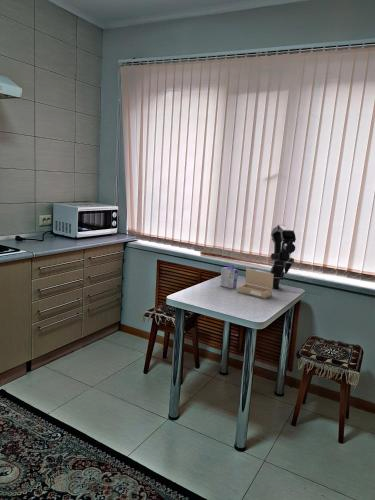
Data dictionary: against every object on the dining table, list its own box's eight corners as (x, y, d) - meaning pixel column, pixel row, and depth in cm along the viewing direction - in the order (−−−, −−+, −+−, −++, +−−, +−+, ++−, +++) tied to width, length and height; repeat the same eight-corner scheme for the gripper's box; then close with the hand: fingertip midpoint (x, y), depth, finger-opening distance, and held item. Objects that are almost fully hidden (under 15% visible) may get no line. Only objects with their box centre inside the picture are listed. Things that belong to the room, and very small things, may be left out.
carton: (245, 289, 248) (245, 283, 248) (271, 295, 238) (272, 289, 237) (237, 292, 240) (238, 286, 239) (264, 298, 230) (265, 292, 229)
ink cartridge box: (236, 287, 252) (239, 265, 249) (233, 289, 247) (235, 266, 245) (223, 284, 257) (225, 263, 255) (219, 285, 252) (221, 264, 250)
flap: (245, 282, 247) (250, 280, 252) (272, 288, 237) (276, 285, 242) (246, 268, 245) (250, 266, 250) (273, 274, 234) (277, 271, 240)
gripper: (279, 246, 250) (276, 270, 252) (267, 249, 234) (264, 274, 237) (296, 249, 243) (292, 273, 246) (284, 252, 228) (281, 278, 231)
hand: (282, 274), depth 240 cm, fingers open, 9 cm apart
